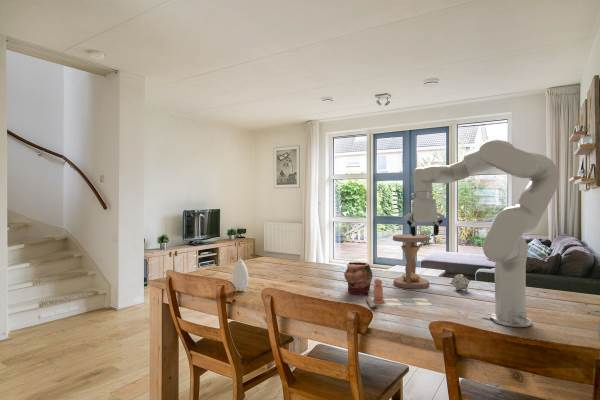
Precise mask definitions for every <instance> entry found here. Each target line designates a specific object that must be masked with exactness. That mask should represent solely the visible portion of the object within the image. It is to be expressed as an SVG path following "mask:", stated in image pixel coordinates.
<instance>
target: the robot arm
mask: <svg viewBox="0 0 600 400" xmlns="http://www.w3.org/2000/svg"><path fill="white" fill-rule="evenodd" d="M494 168H495V169H498V170H500V171H502V172H504V173H506V174H508V175H511V176H513V177H516V178H519V179H529V181H528V184H527V185H526V186H525V188H524V189H523V190H522V192H521V193H520V196H519V197H518V199H517V202H516V203H515V205H513V206H507V207H505V208H503V209H502V210H500V212H499V213H498V214H497V215H496V217H495V219H494V221H493V222H492V225H491V227H490V229H489V231H488V232H487V234H486V237H485V238H484V241H483V245H482V250H483V254H484V256H485V257H486V258H487V259H488V260H490V261H491V262H494V264H495V265H494V312H493V313H491V314H490V320H491V321H492V322H494V323H496V324H498V325H502V326H506V327H514V328H527V327H529V326H531V325H532V320H531V318H529V317H527V295H526V292H527V290H526V289H527V288H526V285H527V284H526V278H527V277H526V274H527V272H526V271H527V270H526V269H527V267H526V265H527V258H528V251H529V250H528V244H527V242H526V240H525V238H524V237H523V234H528V233H530V232H533V231H534V230H535V229H536V228H537V227H538V225H539V224H540V221H541V219H542V218H543V215H544V214H545V212H546V210H547V208H548V206H549V205H550V202H551V200H552V199H553V196H554V195H555V193H556V191H557V189H558V187H559V185H560V176H561V175H560V170H559V168H558V166H557V165H556V163H555V162H554V161H552V159H550V158H549V157H548V156H546V155H543V154H541V153H536V152H527V151H525V150H522V149H519V148H516V147H514V145H513V143H511V142H509V141H506V140H501V139H489V140H486V141H485V142H483V143H482V144H481V145H480V146H479V148H477V149H475V150H471V151H469V152H466V153H465V154H464V156H463V159H462V160H461V161H458V162H454V163H452V164H450V165H439V164H434V165H429V166H423V167H422V166H421V167H416V168H414V169H413V193H411V194H410V196H411V197H412V198H413V199H412V202H411V212H409V213H408V214H406V215H405V216H403V219H404V221H405V223H406V224H407V225H408V226H409V227H410V234H412V236H416V235H417V234H416V226H415V225H416V224H417V223H432V224H433V235H434V236H438V235H439V232H440V225H441V224H442V223H443V221H444V219H445V215H444V214H442V213H440V212H438V208H437V203H436V199H435V198H433V184H450V183H454V182H458V181H462V180H464V179H466V178H469V177H472V176H473V175H475V174H478V173H481V172H484V171H488V170H491V169H494ZM438 217H439V219H438ZM410 218H411V221H410V220H409V219H410Z"/></svg>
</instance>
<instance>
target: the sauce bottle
mask: <svg viewBox="0 0 600 400" xmlns="http://www.w3.org/2000/svg"><path fill="white" fill-rule="evenodd" d="M231 279H232V285H233V284H234V285H235V287H236V289H235V290H236V291H237V290H243V289H244V290H246V289H247V287H248V285H249V279H250V278H249V272H248V268H247V266H246V263H244V261H243V259H241V256H239V259H238V260H237V262H236V263H235V265H234V267H233V269H232V275H231ZM244 290H243V291H244Z"/></svg>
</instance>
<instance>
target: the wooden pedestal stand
mask: <svg viewBox="0 0 600 400" xmlns="http://www.w3.org/2000/svg"><path fill="white" fill-rule="evenodd" d="M392 240H393V241H394V242H398V243H405V245H404V244H403V245H400V247H401V249H402V251H403V252H404V257H405V261H406V264H405V273H403V274H402V275H401V276H400V277H396V278H394V279H393V285H394V286H395V287H398V288H402V289H403V288H404V289H410V290H419V289H426V288H429V287H430V280H428V279H426V278H423V277H421V275H419V274H417V273H416V270H417V262H416V255H417V253H418V252H419V250H420V248H421V246H420V245H416V243H426V242H428V241H429V236H428V235H424V234H416V236H412V234H411V233H409V234H403V233H402V234H395V235H393V236H392Z"/></svg>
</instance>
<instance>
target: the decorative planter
mask: <svg viewBox="0 0 600 400" xmlns="http://www.w3.org/2000/svg"><path fill="white" fill-rule="evenodd" d="M346 266H347V267H346V268H347V269H346V270H345V271H344V274H343V275H344V279H345V280H346V283H347V292H348V293H349V294H352V295H353V294H354V295H359V296H360V295H368V294H369V292H370V289H371V285H372V284H371V282H372V279H373V270H372V269H371V267H370V266H371V265H370V263H367V262H358V261H355V262H353V261H350V262H348V263H347V265H346Z"/></svg>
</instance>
